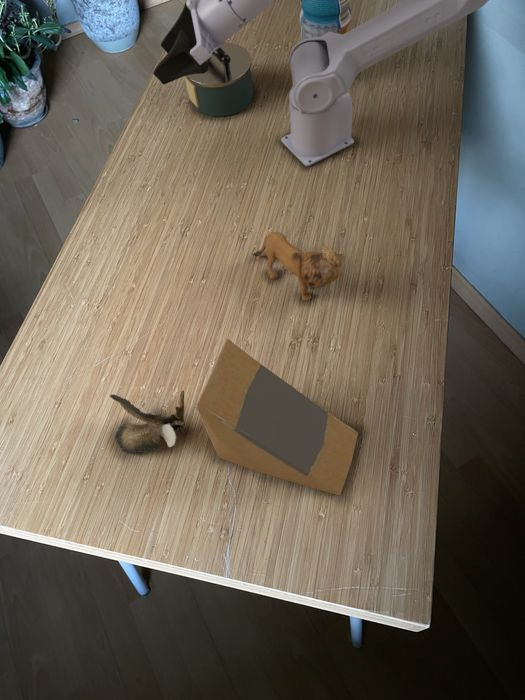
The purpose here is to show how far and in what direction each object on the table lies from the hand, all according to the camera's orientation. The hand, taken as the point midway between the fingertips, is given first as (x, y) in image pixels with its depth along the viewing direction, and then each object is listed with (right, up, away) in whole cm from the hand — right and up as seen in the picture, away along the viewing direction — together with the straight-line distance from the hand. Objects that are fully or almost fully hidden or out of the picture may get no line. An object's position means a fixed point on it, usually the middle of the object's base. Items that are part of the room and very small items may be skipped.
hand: (162, 63), depth 84 cm
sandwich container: (+17, -52, -13) cm, 57 cm away
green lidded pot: (+7, +4, +22) cm, 23 cm away
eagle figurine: (+1, -51, -10) cm, 52 cm away
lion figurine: (+19, -31, 0) cm, 36 cm away
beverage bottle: (+26, +9, +23) cm, 35 cm away
